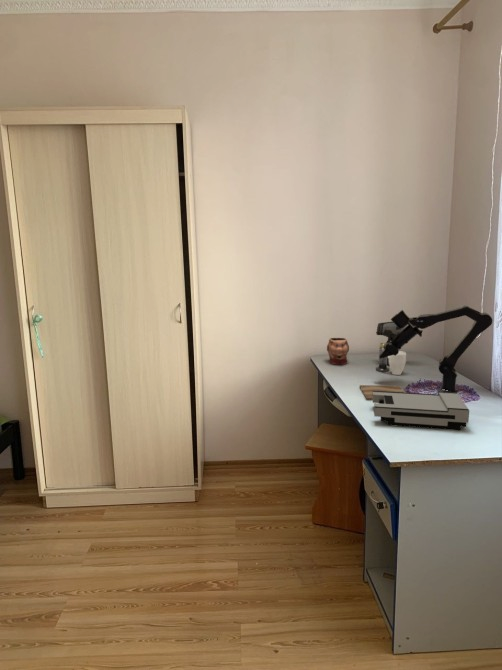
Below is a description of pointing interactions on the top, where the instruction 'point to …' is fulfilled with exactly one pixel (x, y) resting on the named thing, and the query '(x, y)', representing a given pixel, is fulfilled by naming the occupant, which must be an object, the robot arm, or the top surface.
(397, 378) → the top surface
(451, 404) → the retro console
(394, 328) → the cordless drill
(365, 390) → the board
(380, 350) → the grey cylinder with base
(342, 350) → the decorative planter
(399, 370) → the mug
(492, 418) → the top surface
